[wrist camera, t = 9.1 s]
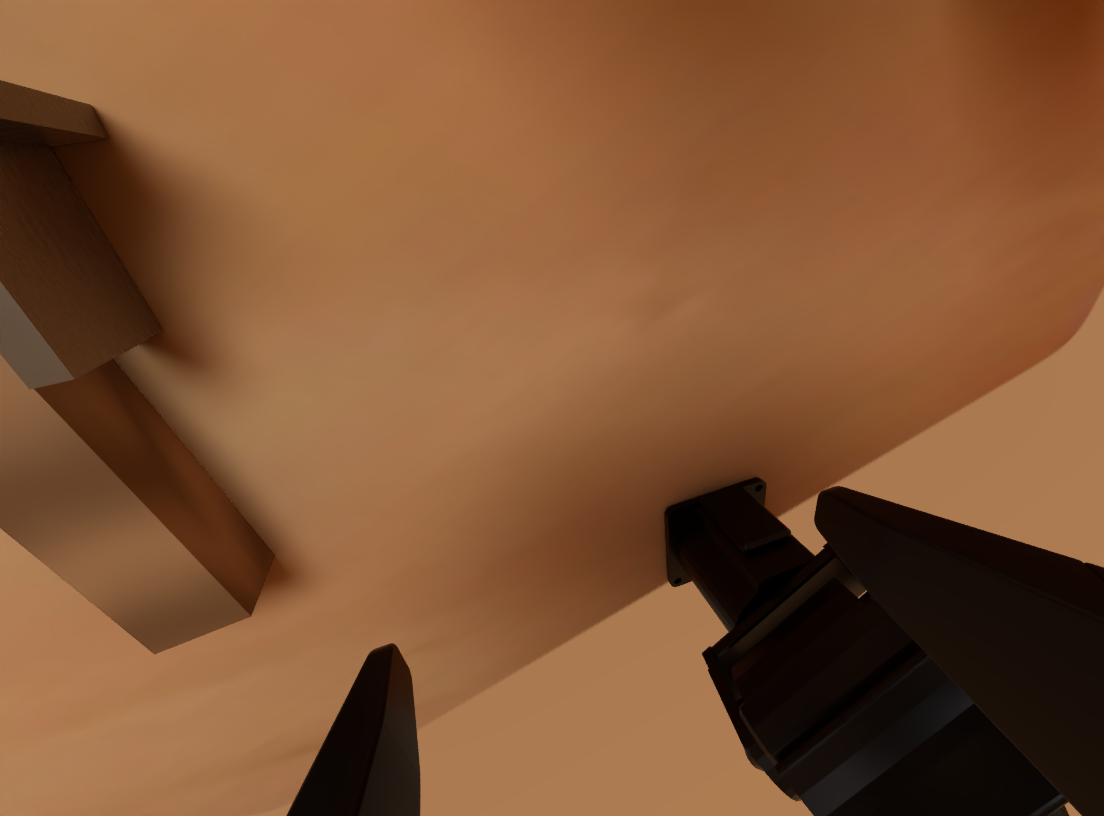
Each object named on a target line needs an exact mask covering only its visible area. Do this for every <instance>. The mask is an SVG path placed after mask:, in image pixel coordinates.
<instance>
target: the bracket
mask: <svg viewBox="0 0 1104 816" xmlns="http://www.w3.org/2000/svg"><path fill="white" fill-rule="evenodd" d="M107 138H109V137H108V135H107V133H106V131H105V129H104V128H103V126H102V124H101V122H100V120H99V119H98V117H97V115H96V113H95V111H94V110H93V108H92V106H91V105H89V104H85V103H82V102H78V101H74V100H71V99H67V98H63V97H60V96H56V95H52V94H49V93H45V92H41V91H38V90H34V89H30V88H27V87H23V86H20V85H16V84H12V83H9V82H5V81H1V80H0V354H1V356H2V357H3V358H4V359H5V361H6V362H7V363H8V364H9V365H10V367H11V368H12V369H13V370H14V371H15V373H16V374H17V375H18V376H19V377H20V379H21V380H22V381H23V382H24V384H25V385H26V386H27V387H28V388H29V390H30V389H34V388H39V387H43V386H48V385H52V384H57V383H61V382H65V381H70V380H74V379H76V378H78V377H80V376H82V375H84V374H86V373H87V372H89V371H91V370H93V369H95V368H97V367H99V366H100V365H102V364H104V363H106V362H108V361H110V360H111V359H113V358H115V357H117V356H119V355H121V354H122V353H124V352H126V351H128V350H130V349H132V348H133V347H135V346H137V345H139V344H141V343H143V342H144V341H146V340H148V339H150V338H152V337H154V336H156V335H157V334H159V333H161V332H163V329H162V328H161V326H160V325H159V323H158V321H157V320H156V318H155V316H154V315H153V313H152V312H151V310H150V308H149V307H148V305H147V303H146V302H145V300H144V299H143V297H142V295H141V294H140V292H139V290H138V289H137V287H136V286H135V284H134V282H133V281H132V279H131V277H130V276H129V274H128V273H127V271H126V269H125V268H124V266H123V264H122V263H121V261H120V260H119V258H118V256H117V255H116V253H115V251H114V250H113V248H112V247H111V245H110V243H109V242H108V240H107V238H106V237H105V235H104V234H103V232H102V230H101V229H100V227H99V225H98V224H97V222H96V221H95V219H94V217H93V216H92V214H91V212H90V211H89V209H88V208H87V206H86V204H85V203H84V201H83V199H82V198H81V196H80V195H79V193H78V191H77V190H76V188H75V186H74V185H73V183H72V182H71V180H70V178H69V177H68V175H67V173H66V172H65V170H64V169H63V167H62V165H61V164H60V162H59V160H58V159H57V157H56V156H55V154H54V152H53V151H52V149H51V147H52V146H59V145H66V144H73V143H80V142H87V141H93V140H100V139H107Z"/></svg>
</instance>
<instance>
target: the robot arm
mask: <svg viewBox="0 0 1104 816" xmlns="http://www.w3.org/2000/svg"><path fill="white" fill-rule="evenodd" d="M765 493H766V483H765V482H764V481H763V480H762V479H761V478H758V477H757V478H753V479H750V480H747V481H744V482H741V483H738V484H735V485H732V486H729V487H726V488H723V489H720V490H717V491H714V492H711V493H708V494H705V495H702V496H699V497H696V498H693V499H690V500H687V501H684V502H681V503H678V504H675V505H672V506H670V507H669V508H668V509H667V510H666V511H665V535H666V556H667V576H668V581H669V583H670V584H671V585H672V586H673V587H677V586H680V585H683V584H686V583H688V582H691V581H693V582H694V584H695V585H696V586H697V588H698V589H699V591H700V592H701V594H702V595H703V596H704V598H705V599H706V601H707V602H708V603H709V605H710V606H711V608H712V609H713V610H714V612H715V613H716V615H717V616H718V617H719V619H720V620H721V621H722V623H723V624H724V626H725V627H726V629H727V630H728V631H729V633H727V634H726V635H725V636H724V637H723V638H722V639H720V641H718V642H717V643H716V644H715V645H714V646H713V647H710V646H709V647H708V648H707V649H706V650H705V651H704V652H703V653H702V655H703V657H704V659H705V661H706V664H707V666H708V668H709V669H708V671H709V674H710V676H711V678H712V680H713V682H714V684H715V687H716V689H717V691H718V693H719V695H720V697H721V700H722V702H723V704H724V706H725V708H726V710H727V713H728V715H729V717H730V719H731V721H732V723H733V725H734V728H735V730H736V732H737V734H738V736H739V738H740V741H741V743H742V745H743V747H744V749H745V753H746V756H747V758H748V759H749V761H750V762H751V764H752V765H753V766H754V767H755V768H757V769H759V770H762V771H765V773H766V774H767V775H768V776H769V777H770V779H771V780H772V781H773V782H774V783H775V784H776V785H777V786H778V787H779V788H780V789H781V790H782V791H783V792H784V793H785V794H786V795H787V796H789V797H790V798H791V799H793V800H795V801H801V800H802V801H803V803H804V804H805V805H806V806H807V808H808V809H809V810H810V811H811V813H812V814H813V815H814V816H1069V814H1068V812H1067V810H1066V808H1065V806H1064V805H1065V804H1067V803H1068V802H1069V803H1070V804H1071V805H1072V806H1073V807H1074V808H1075V809H1076V810H1077V811H1078V812H1079V813H1080V814H1081V815H1082V816H1104V568H1103V567H1100V566H1097V565H1094V564H1091V563H1083V562H1082V561H1080V560H1077V559H1074V558H1071V557H1068V556H1064V555H1061V554H1058V553H1054V552H1051V551H1048V550H1045V549H1042V548H1038V547H1035V546H1032V545H1029V544H1025V543H1022V542H1019V541H1016V540H1012V539H1009V538H1006V537H1003V536H1000V535H997V534H993V533H990V532H987V531H984V530H980V529H977V528H974V527H971V526H968V525H964V524H961V523H958V522H954V521H951V520H948V519H945V518H942V517H938V516H935V515H932V514H929V513H926V512H922V511H919V510H916V509H913V508H909V507H906V506H903V505H900V504H896V503H893V502H890V501H887V500H884V499H880V498H877V497H874V496H871V495H867V494H864V493H861V492H858V491H855V490H851V489H848V488H845V487H840V486H836V487H832V488H829V489H826V490H823V491H821V492H820V493H819V495H818V499H817V505H816V511H815V517H814V522H815V525H816V527H817V529H818V531H819V532H820V533H821V535H822V536H823V537H824V538H825V540H826V541H827V544H825V545H824V546H823V547H824V549H823V550H822V551H821V552H819V553H818V554H817V555H816V556H815V555H814V554H812V553H811V552H810V551H809V550H808V549H807V548H806V547H805V546H804V545H802V544H801V543H800V542H799V541H798V540H797V539H796V538H795V537H794V536H793V535H791V531H790V529H788V528H787V527H786V526H785V525H784V524H783V523H782V522H781V521H780V520H778V519H777V518H776V517H775V516H774V515H773V514H772V513H771V512H770V511H768V510H767V509H766V508H765V507H764V504H765ZM866 590H867V592H866V593H865V594H864V595H862V596H861V597H860V598H858V597H859V596H860V595H861V594H862V593H863V592H865V591H866ZM287 816H420V765H419V753H418V741H417V730H416V719H415V707H414V696H413V685H412V677H411V673H410V670H409V667H408V665H407V664H406V662H405V660H404V658H403V656H402V654H401V653H400V651H399V649H398V647H397V646H396V645H395V644H393V643H391V644H388V645H385V646H382V647H379V648H376V649H374V650H372V651H371V652H370V653H369V655H368V656H367V658H366V660H365V662H364V664H363V666H362V668H361V670H360V672H359V674H358V676H357V678H356V680H355V682H354V684H353V686H352V688H351V690H350V692H349V694H348V696H347V698H346V700H345V702H344V704H343V705H342V707H341V709H340V711H339V713H338V715H337V717H336V719H335V721H334V723H333V725H332V727H331V729H330V731H329V733H328V735H327V737H326V739H325V741H324V743H323V745H322V747H321V749H320V751H319V753H318V755H317V757H316V759H315V761H314V762H313V764H312V766H311V768H310V770H309V772H308V774H307V776H306V778H305V780H304V782H303V784H302V786H301V788H300V790H299V792H298V794H297V796H296V798H295V800H294V802H293V804H292V806H291V808H290V810H289V812H288V814H287Z"/></svg>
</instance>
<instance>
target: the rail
mask: <svg viewBox="0 0 1104 816" xmlns="http://www.w3.org/2000/svg"><path fill="white" fill-rule="evenodd" d="M0 528H1V529H2V530H3V531H5V532H6V533H7V534H8V535H9V536H11V537H12V538H13V539H14V540H16V541H17V542H18V543H19V544H20V545H22V546H23V547H24V548H25V549H27V550H28V551H29V552H30V553H31V554H33V555H34V556H35V557H36V558H38V559H39V560H40V561H41V562H42V563H44V564H45V565H46V566H47V567H49V568H50V569H51V570H52V571H53V572H55V573H56V574H57V575H58V576H59V577H61V578H62V579H63V580H64V581H66V582H67V583H68V584H69V585H70V586H72V587H73V588H74V589H75V590H77V591H78V592H79V593H80V594H81V595H83V596H84V597H85V598H86V599H88V600H89V601H90V602H91V603H92V604H94V605H95V606H96V607H97V608H99V609H100V610H101V611H102V612H103V613H105V614H106V615H107V616H108V617H110V618H111V619H112V620H113V621H114V622H116V623H117V624H118V625H119V626H121V627H122V628H123V629H124V630H125V631H127V632H128V633H129V634H130V635H131V636H133V637H134V638H135V639H136V640H138V641H139V642H140V643H141V644H142V645H144V646H145V647H146V648H147V649H149V650H150V651H151V652H152V653H153V654H157V653H159V652H162V651H164V650H167V649H169V648H172V647H174V646H177V645H180V644H182V643H185V642H187V641H190V640H192V639H195V638H197V637H200V636H202V635H205V634H207V633H210V632H213V631H215V630H218V629H220V628H223V627H225V626H228V625H230V624H233V623H235V622H238V621H240V620H243V619H246V618H248V617H251V615H252V613H253V610H254V608H255V605H256V602H257V600H258V597H259V595H260V592H261V590H262V587H263V584H264V582H265V579H266V577H267V574H268V572H269V569H270V567H271V564H272V561H273V559H274V556H275V555H274V554H273V553H272V551H271V550H270V549H269V548H268V547H267V545H266V544H265V543H264V542H263V540H262V539H261V538H260V537H259V536H258V534H257V533H256V532H255V531H254V530H253V528H252V527H251V526H250V525H249V523H248V522H247V521H246V520H245V519H244V517H243V516H242V515H241V514H240V512H239V511H238V510H237V509H236V508H235V506H234V505H233V504H232V503H231V502H230V500H229V499H228V498H227V497H226V495H225V494H224V493H223V492H222V491H221V489H220V488H219V487H218V486H217V484H216V483H215V482H214V481H213V480H212V478H211V477H210V476H209V475H208V474H207V472H206V471H205V470H204V469H203V467H202V466H201V465H200V464H199V463H198V461H197V460H196V459H195V458H194V456H193V455H192V454H191V453H190V452H189V450H188V449H187V448H186V447H185V446H184V444H183V443H182V442H181V441H180V439H179V438H178V437H177V436H176V435H175V433H174V432H173V431H172V430H171V428H170V427H169V426H168V425H167V424H166V422H165V421H164V420H163V419H162V418H161V416H160V415H159V414H158V413H157V411H156V410H155V409H154V408H153V407H152V405H151V404H150V403H149V402H148V401H147V399H146V398H145V397H144V396H143V394H142V393H141V392H140V391H139V390H138V388H137V387H136V386H135V385H134V383H133V382H132V381H131V380H130V379H129V377H128V376H127V375H126V374H125V373H124V371H123V370H122V369H121V368H120V366H119V365H118V364H117V363H116V362H115V360H114V359H111V360H110V361H108V362H106V363H104V364H102V365H100V366H99V367H97V368H95V369H93V370H91V371H89V372H87V373H86V374H84V375H82V376H80V377H78V378H76V379H74V380H70V381H65V382H61V383H57V384H52V385H48V386H43V387H39V388H34V389H30V390H29V388H28V387H27V386H26V385H25V384H24V382H23V381H22V380H21V379H20V377H19V376H18V375H17V374H16V373H15V371H14V370H13V369H12V368H11V367H10V365H9V364H8V363H7V362H6V361H5V359H4V358H3V357H2V356H1V354H0Z"/></svg>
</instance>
